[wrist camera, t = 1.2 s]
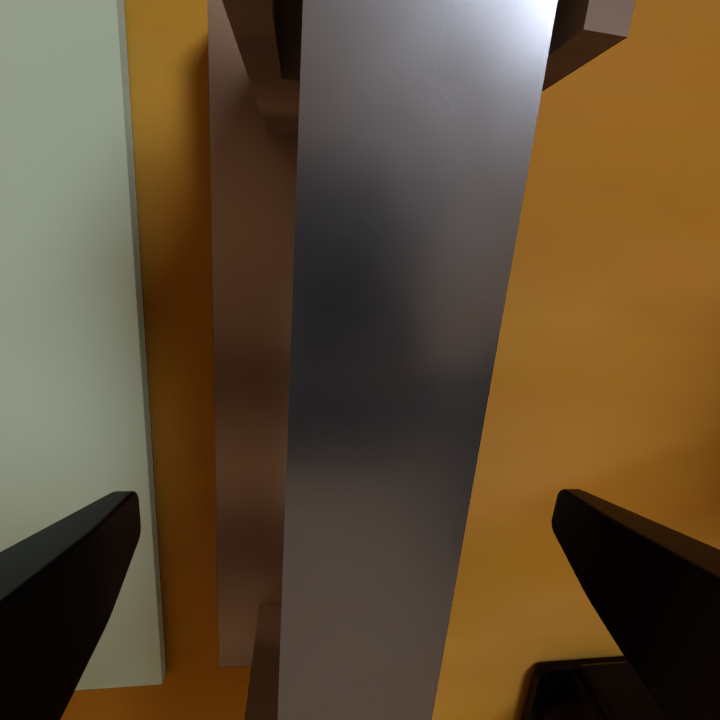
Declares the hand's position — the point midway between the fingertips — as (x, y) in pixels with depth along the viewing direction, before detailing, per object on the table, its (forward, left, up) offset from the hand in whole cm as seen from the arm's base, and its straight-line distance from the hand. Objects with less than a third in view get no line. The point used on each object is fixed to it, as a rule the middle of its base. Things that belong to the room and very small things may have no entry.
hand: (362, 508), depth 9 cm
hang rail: (0, 0, -1) cm, 1 cm away
